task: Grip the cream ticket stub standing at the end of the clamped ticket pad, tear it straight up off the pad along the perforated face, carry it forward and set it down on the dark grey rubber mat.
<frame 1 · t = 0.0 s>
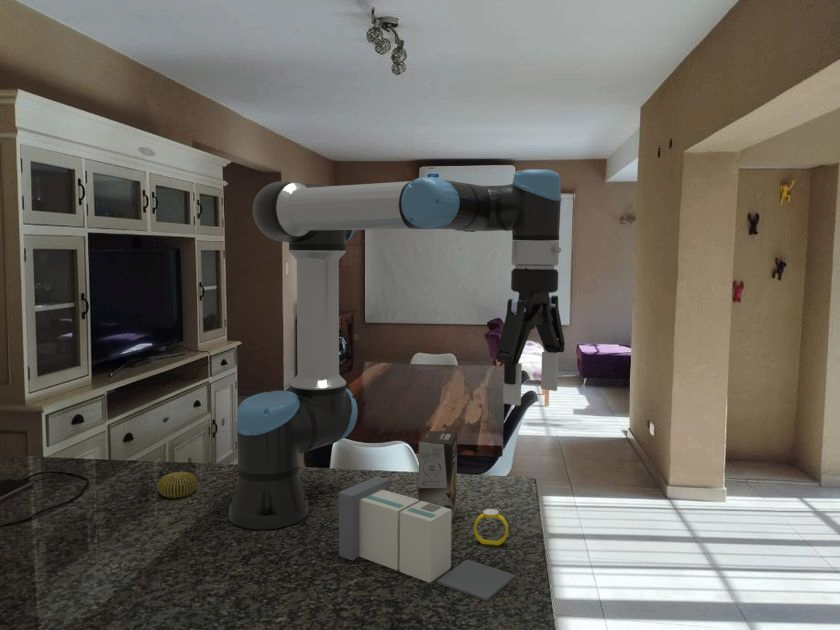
hand: (531, 396, 109), 28 cm above the worktop, tool pointing down, fingers open, 13 cm apart
ticket pad: (380, 553, 114), on the worktop
stub: (425, 569, 108), on the worktop
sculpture: (178, 494, 141), on the worktop
coffee box: (437, 517, 130), on the worktop
mat: (476, 580, 105), on the worktop
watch: (490, 544, 118), on the worktop
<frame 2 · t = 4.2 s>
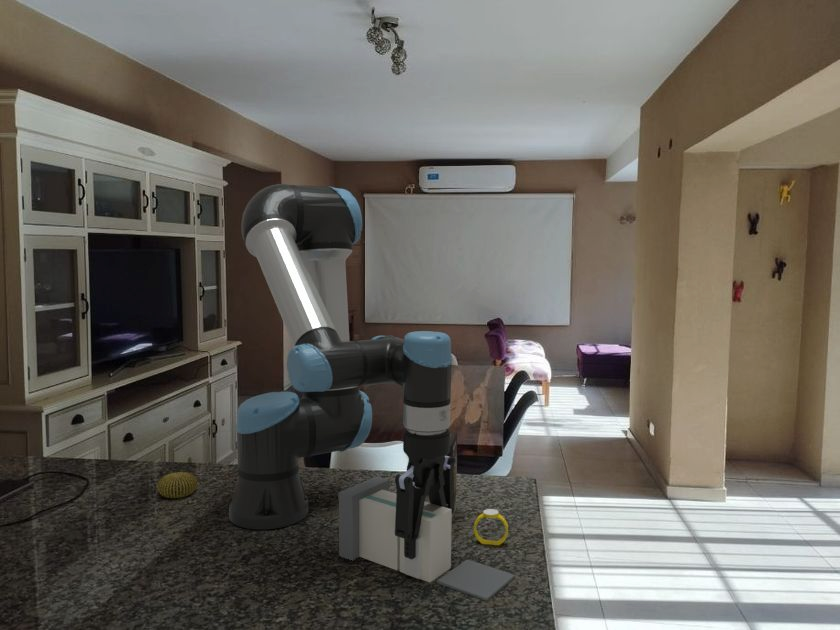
hand: (425, 567, 108), 0 cm above the worktop, tool pointing down, fingers closed on stub, 6 cm apart
stub: (425, 569, 108), on the worktop, touching gripper
everything else where it was.
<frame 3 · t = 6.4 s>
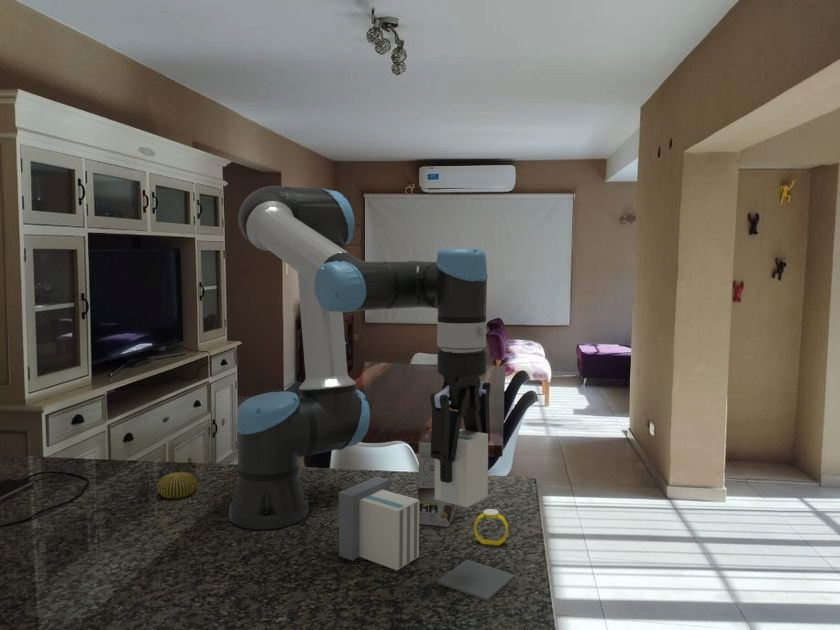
hand: (461, 494, 104), 14 cm above the worktop, tool pointing down, fingers closed on stub, 6 cm apart
stub: (461, 497, 104), point 13 cm above the worktop, touching gripper
everything else where it was.
when the fingers open (2 cm above the worktop, at t = 8.9 s): stub drops 2 cm, resting on mat.
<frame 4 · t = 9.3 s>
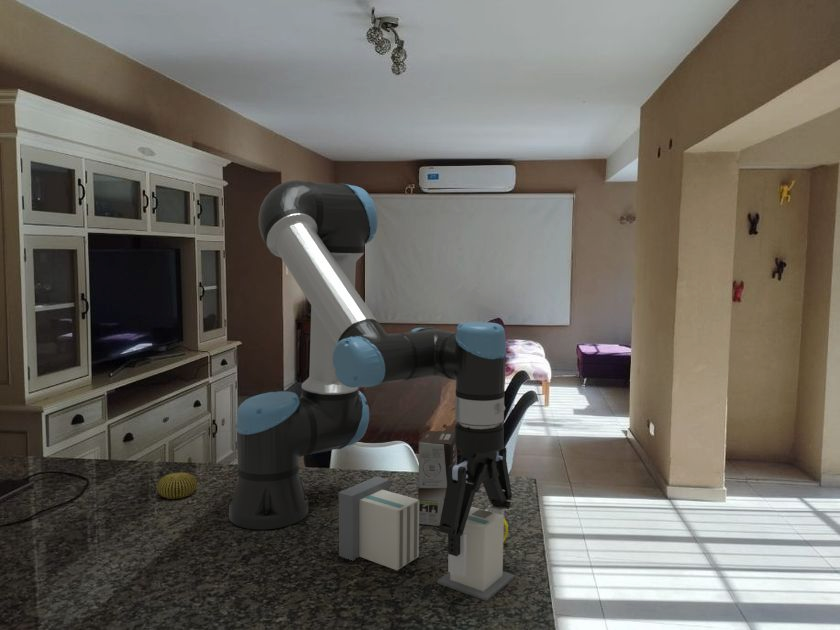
hand: (476, 559, 105), 3 cm above the worktop, tool pointing down, fingers open, 11 cm apart
stub: (476, 577, 105), resting on mat
everything else where it was.
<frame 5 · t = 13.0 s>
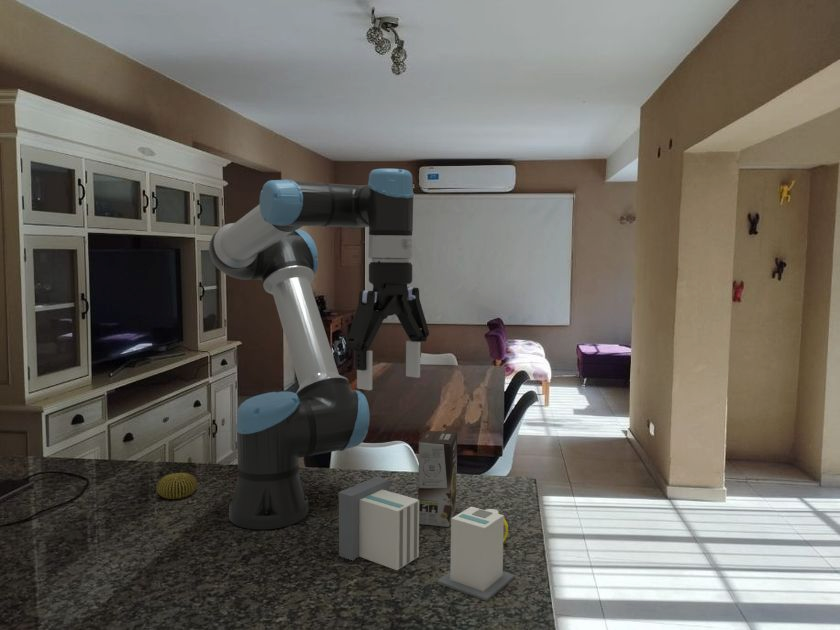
hand: (389, 382, 116), 29 cm above the worktop, tool pointing down, fingers open, 13 cm apart
nothing on the worktop moved.
at the end: stub inside the target area on the mat (0.0 cm from its centre), point 0.4 cm above the mat's base; stub tilted 0°; the gripper is holding nothing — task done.
